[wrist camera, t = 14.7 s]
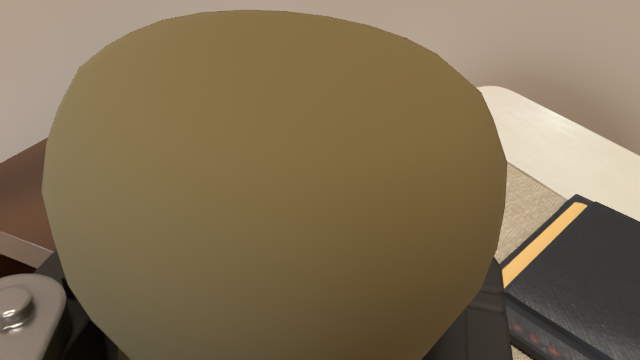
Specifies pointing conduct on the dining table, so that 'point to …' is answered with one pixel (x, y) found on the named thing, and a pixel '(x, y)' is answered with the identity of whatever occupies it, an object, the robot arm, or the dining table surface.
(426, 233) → the cork
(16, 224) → the shelf
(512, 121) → the dining table surface
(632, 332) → the wallet
